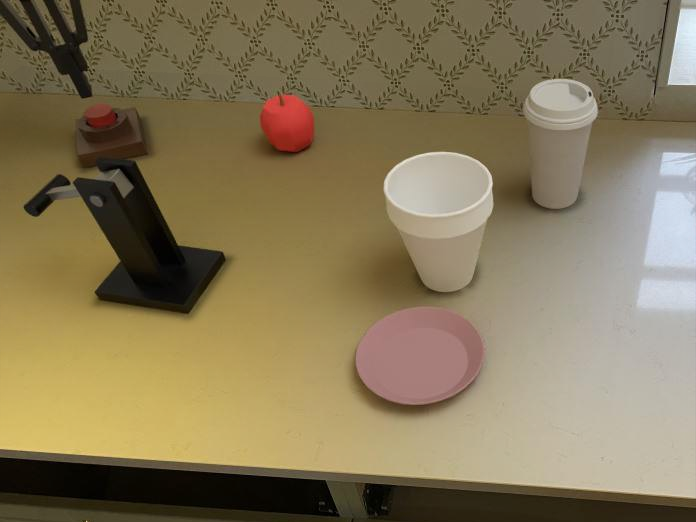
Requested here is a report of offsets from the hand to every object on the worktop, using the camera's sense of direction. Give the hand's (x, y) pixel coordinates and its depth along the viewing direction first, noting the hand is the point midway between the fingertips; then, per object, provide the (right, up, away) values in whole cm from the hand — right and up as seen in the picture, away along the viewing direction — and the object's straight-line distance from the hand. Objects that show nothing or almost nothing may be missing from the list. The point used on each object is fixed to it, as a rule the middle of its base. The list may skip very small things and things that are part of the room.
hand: (86, 93), depth 96 cm
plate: (+52, -41, -22) cm, 70 cm away
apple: (+29, -6, +6) cm, 30 cm away
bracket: (+18, -29, -13) cm, 37 cm away
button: (0, -3, +3) cm, 4 cm away
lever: (+14, -22, -22) cm, 34 cm away
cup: (+54, -29, -13) cm, 63 cm away
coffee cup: (+69, -16, -2) cm, 71 cm away
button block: (0, -5, +6) cm, 8 cm away
